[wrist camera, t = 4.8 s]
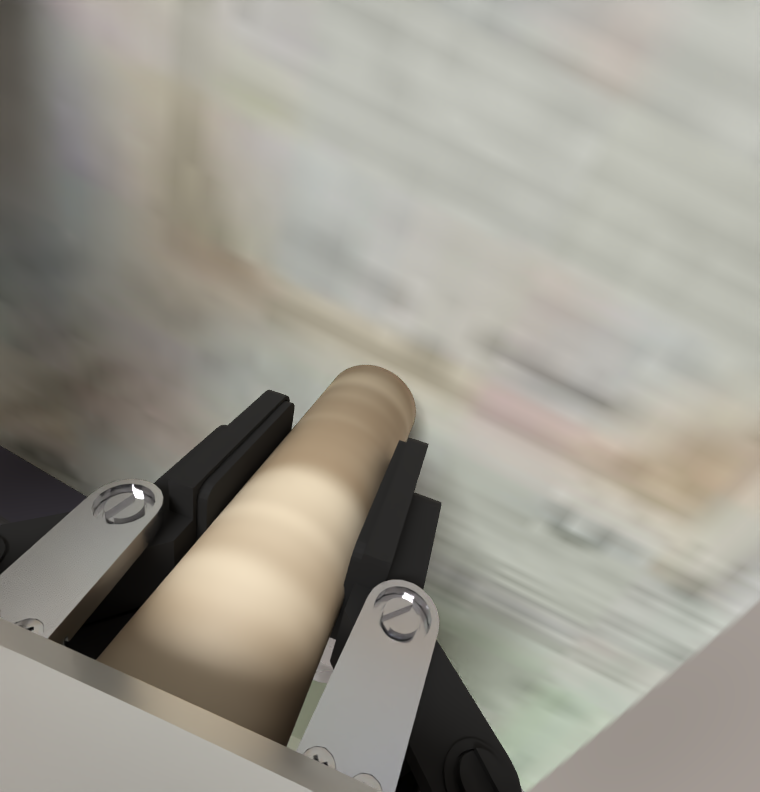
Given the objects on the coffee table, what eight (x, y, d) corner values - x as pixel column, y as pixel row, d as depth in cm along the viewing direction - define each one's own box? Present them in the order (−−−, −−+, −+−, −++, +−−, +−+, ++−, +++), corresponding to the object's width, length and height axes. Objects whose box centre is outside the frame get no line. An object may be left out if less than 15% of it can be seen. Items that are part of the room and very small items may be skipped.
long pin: (336, 352, 14) (-43, 744, 4) (426, 382, 13) (224, 878, 4) (322, 428, 15) (18, 841, 6) (403, 456, 15) (216, 945, 6)
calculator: (-65, 618, 29) (-118, 472, 21) (1, 567, 33) (-23, 427, 25) (72, 703, 29) (71, 587, 21) (124, 642, 32) (141, 523, 24)
